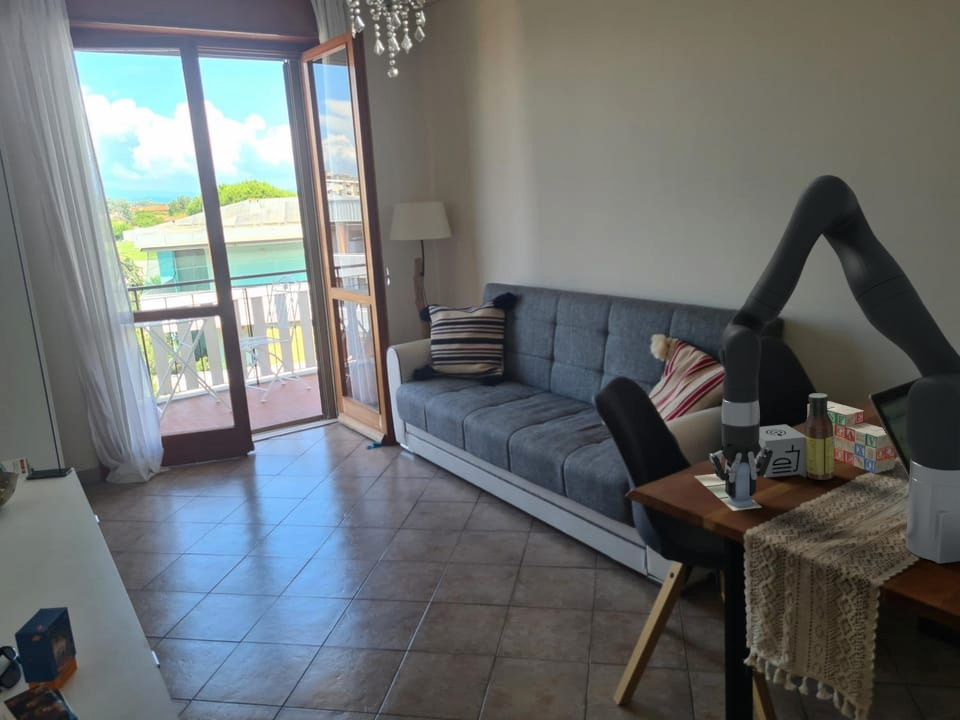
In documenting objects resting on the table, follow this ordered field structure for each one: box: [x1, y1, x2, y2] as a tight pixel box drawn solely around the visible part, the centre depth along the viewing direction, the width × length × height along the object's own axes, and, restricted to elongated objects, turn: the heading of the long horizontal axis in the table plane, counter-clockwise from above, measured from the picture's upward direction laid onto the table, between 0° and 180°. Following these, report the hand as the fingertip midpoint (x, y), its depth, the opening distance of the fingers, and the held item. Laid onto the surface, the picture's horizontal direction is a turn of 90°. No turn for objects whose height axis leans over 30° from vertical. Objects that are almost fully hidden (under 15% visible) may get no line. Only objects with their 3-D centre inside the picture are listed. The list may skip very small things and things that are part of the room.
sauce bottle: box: [803, 392, 835, 481], centre depth 165 cm, size 7×6×20 cm
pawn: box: [727, 462, 754, 508], centre depth 153 cm, size 5×5×10 cm
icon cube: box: [754, 423, 808, 479], centre depth 170 cm, size 10×10×10 cm
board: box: [694, 473, 762, 512], centre depth 160 cm, size 21×7×1 cm, turn 6°
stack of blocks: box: [806, 400, 896, 474], centre depth 175 cm, size 21×6×12 cm, turn 19°
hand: (740, 495), depth 153 cm, fingers closed on pawn, 3 cm apart
